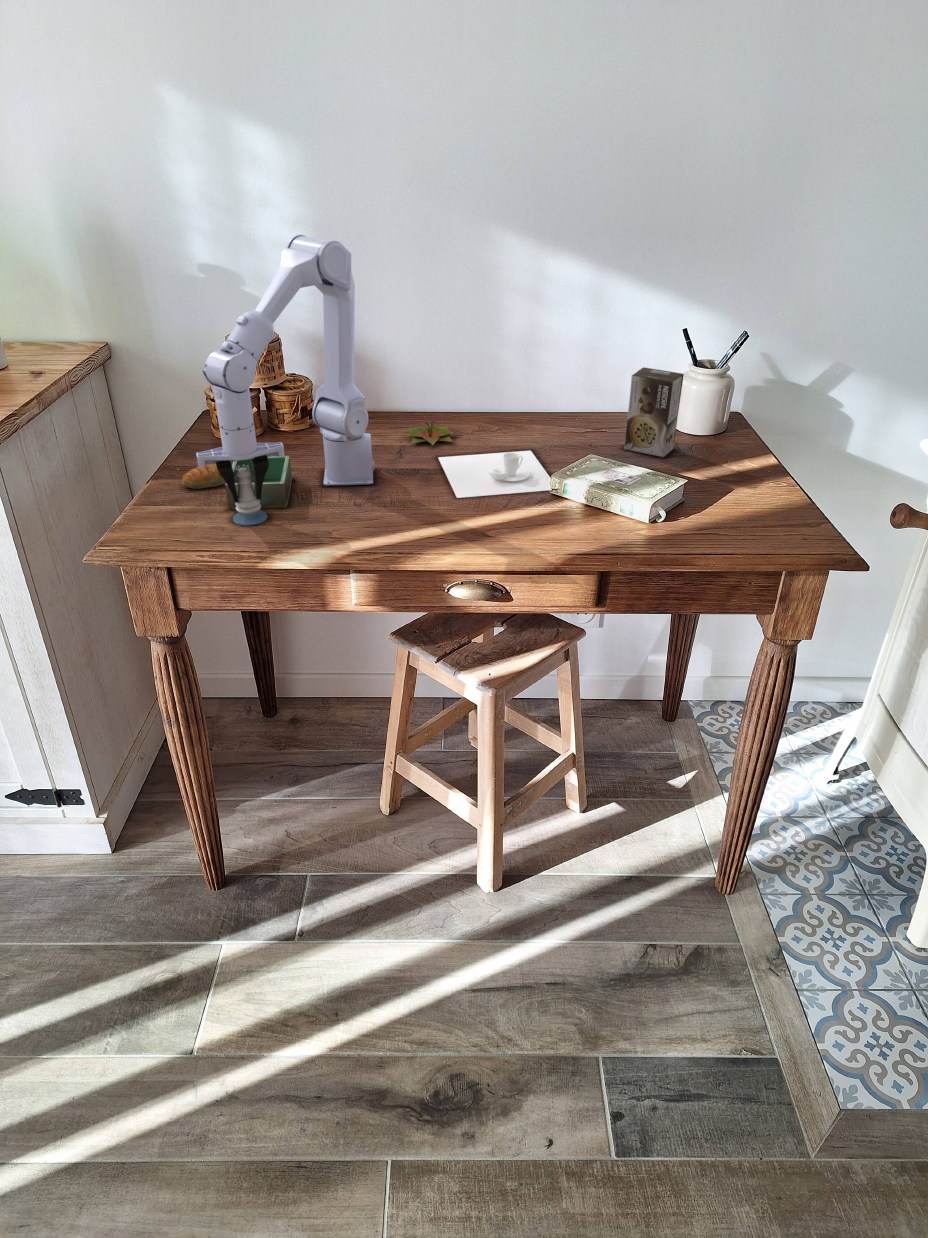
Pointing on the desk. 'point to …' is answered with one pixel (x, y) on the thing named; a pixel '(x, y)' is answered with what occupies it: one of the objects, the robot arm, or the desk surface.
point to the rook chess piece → (246, 491)
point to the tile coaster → (250, 518)
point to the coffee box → (653, 411)
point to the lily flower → (430, 433)
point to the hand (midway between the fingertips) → (247, 498)
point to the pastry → (203, 477)
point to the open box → (268, 483)
